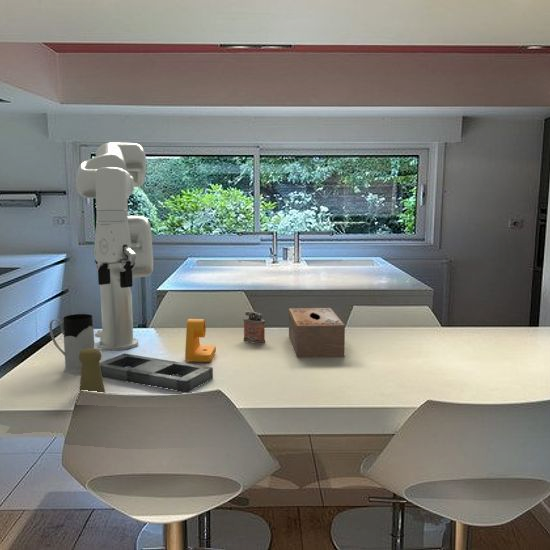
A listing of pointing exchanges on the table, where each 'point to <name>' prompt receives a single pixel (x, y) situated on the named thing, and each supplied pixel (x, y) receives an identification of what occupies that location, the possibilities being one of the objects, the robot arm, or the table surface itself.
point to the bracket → (197, 342)
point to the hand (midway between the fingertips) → (115, 285)
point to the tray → (156, 372)
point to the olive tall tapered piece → (91, 370)
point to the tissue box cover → (316, 332)
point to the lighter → (254, 328)
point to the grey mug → (75, 339)
